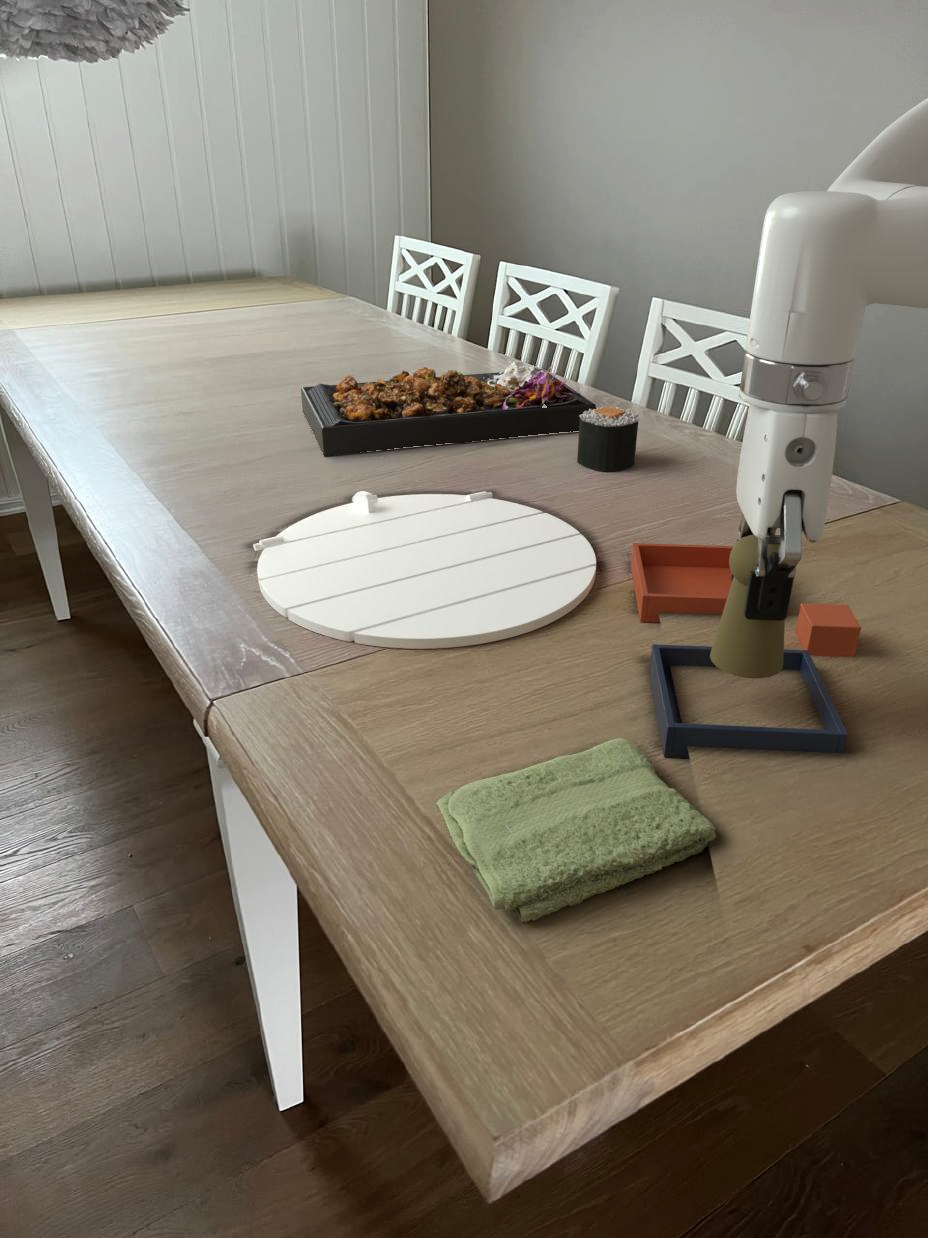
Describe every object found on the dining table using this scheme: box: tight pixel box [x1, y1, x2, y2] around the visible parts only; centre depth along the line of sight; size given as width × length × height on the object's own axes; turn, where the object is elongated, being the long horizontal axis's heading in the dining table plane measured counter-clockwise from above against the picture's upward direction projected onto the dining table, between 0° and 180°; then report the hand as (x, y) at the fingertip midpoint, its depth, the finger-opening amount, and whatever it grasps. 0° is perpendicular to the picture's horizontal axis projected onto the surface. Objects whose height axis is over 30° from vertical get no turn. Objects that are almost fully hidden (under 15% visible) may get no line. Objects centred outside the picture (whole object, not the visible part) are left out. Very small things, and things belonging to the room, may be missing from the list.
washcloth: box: [435, 737, 717, 923], centre depth 67 cm, size 13×18×3 cm
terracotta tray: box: [630, 542, 734, 624], centre depth 101 cm, size 14×13×3 cm
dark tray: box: [648, 643, 849, 759], centre depth 81 cm, size 14×13×3 cm
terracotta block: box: [794, 603, 862, 658], centre depth 89 cm, size 4×4×4 cm
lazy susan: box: [252, 490, 597, 650], centre depth 108 cm, size 40×39×3 cm
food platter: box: [300, 360, 597, 457], centre depth 156 cm, size 45×25×10 cm, turn 106°
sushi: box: [576, 405, 640, 472], centre depth 137 cm, size 8×8×8 cm
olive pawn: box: [710, 535, 798, 679], centre depth 76 cm, size 6×6×11 cm
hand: (757, 598), depth 76 cm, fingers closed on olive pawn, 5 cm apart
